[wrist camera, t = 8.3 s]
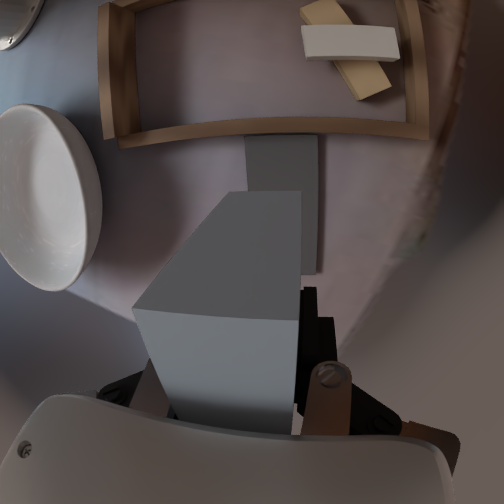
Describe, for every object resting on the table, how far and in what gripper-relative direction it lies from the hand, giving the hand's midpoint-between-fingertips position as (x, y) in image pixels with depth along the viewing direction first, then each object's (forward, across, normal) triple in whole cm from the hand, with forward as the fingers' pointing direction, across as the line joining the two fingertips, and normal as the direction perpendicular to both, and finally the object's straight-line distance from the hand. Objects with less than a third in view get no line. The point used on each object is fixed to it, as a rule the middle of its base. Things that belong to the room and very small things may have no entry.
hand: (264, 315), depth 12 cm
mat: (+15, 0, 0) cm, 15 cm away
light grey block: (+2, 0, 0) cm, 2 cm away
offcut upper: (+13, -6, -14) cm, 20 cm away
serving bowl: (+15, +26, -4) cm, 30 cm away
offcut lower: (+15, -6, -14) cm, 22 cm away
